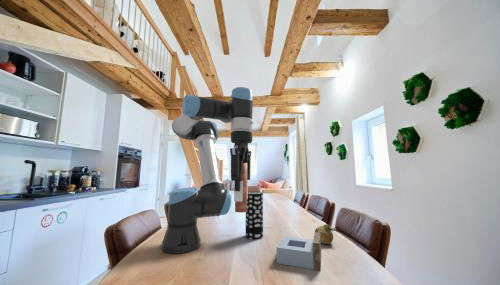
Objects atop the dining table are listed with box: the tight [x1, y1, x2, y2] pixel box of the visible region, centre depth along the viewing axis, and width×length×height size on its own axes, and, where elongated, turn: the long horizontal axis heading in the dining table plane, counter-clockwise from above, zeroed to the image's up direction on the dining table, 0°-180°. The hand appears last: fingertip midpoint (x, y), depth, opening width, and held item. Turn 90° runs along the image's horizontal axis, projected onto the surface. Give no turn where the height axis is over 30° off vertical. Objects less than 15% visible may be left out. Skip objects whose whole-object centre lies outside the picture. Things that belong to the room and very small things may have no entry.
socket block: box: [275, 236, 314, 270], centre depth 71 cm, size 12×12×5 cm
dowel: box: [234, 163, 247, 213], centre depth 68 cm, size 4×4×16 cm
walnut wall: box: [312, 231, 322, 272], centre depth 69 cm, size 2×12×8 cm, turn 159°
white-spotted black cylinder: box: [245, 191, 264, 241], centre depth 96 cm, size 8×8×20 cm
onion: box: [314, 223, 337, 245], centre depth 87 cm, size 8×8×8 cm
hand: (241, 199), depth 67 cm, fingers closed on dowel, 4 cm apart
